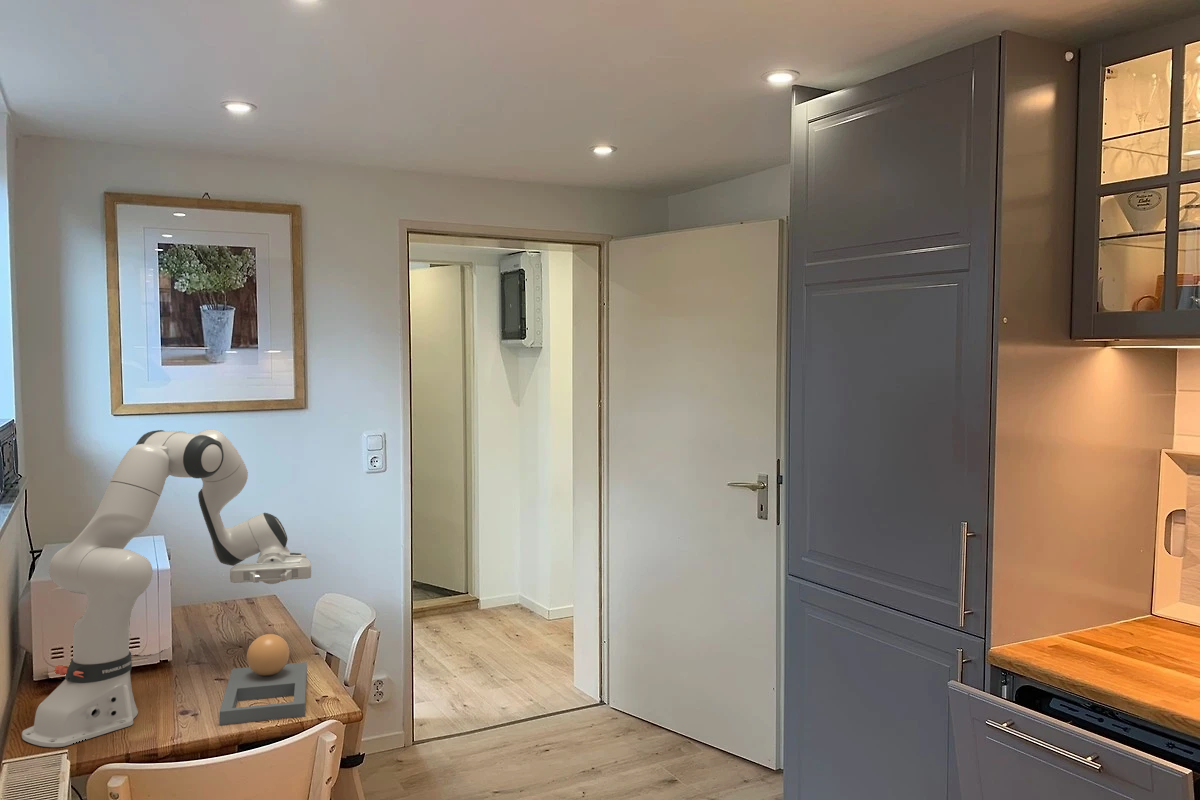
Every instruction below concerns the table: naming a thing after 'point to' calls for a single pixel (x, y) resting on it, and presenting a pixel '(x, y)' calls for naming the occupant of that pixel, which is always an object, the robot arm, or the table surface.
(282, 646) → the ball
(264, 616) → the table surface
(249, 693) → the deck
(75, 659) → the robot arm
